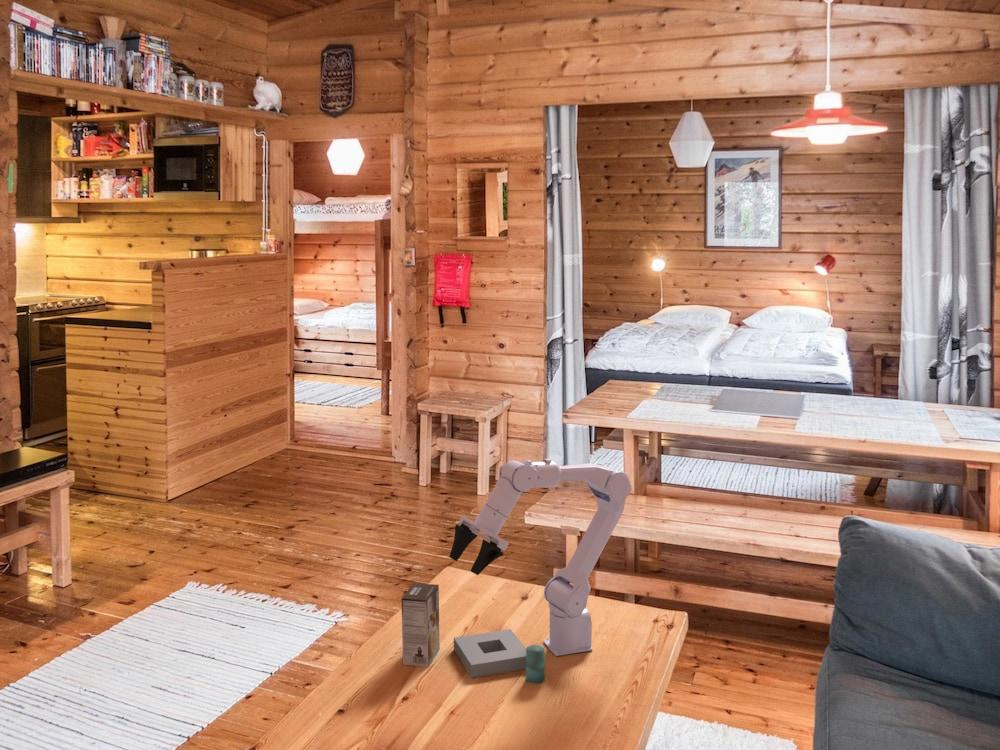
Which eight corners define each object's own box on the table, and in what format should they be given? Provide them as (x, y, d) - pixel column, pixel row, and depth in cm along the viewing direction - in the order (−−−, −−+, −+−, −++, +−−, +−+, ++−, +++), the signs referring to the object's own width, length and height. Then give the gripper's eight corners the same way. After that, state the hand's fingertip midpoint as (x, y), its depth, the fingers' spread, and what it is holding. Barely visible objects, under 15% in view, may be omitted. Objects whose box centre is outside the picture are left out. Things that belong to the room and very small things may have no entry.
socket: (510, 641, 217) (510, 629, 217) (531, 667, 204) (531, 655, 203) (453, 649, 213) (453, 637, 212) (471, 677, 200) (471, 665, 199)
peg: (540, 673, 201) (540, 643, 200) (547, 682, 198) (547, 651, 197) (523, 676, 200) (523, 646, 199) (530, 685, 196) (530, 654, 195)
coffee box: (413, 646, 214) (412, 581, 211) (440, 649, 213) (439, 584, 210) (401, 665, 205) (400, 597, 203) (429, 667, 204) (428, 600, 201)
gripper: (464, 492, 201) (432, 546, 199) (506, 516, 191) (473, 573, 189) (483, 505, 206) (451, 557, 204) (525, 528, 195) (492, 584, 193)
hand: (463, 566), depth 197 cm, fingers open, 7 cm apart
